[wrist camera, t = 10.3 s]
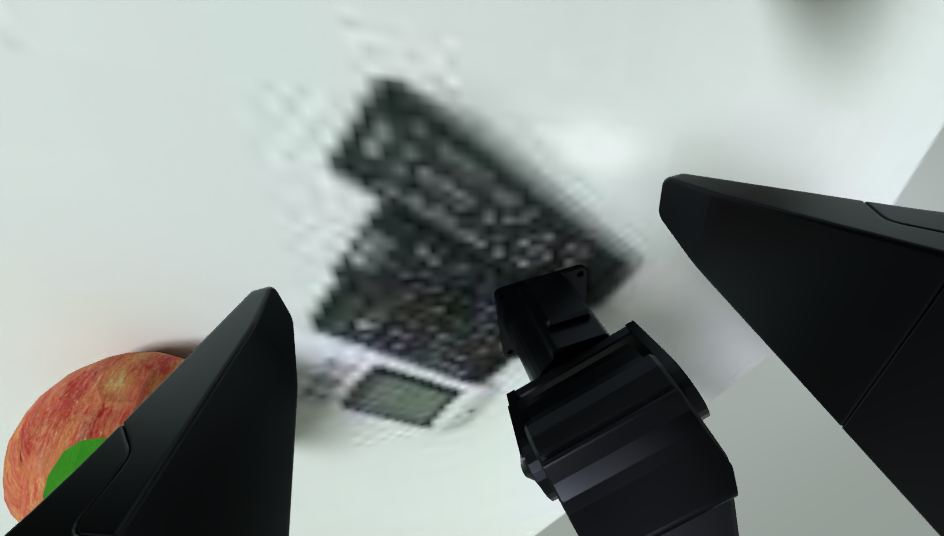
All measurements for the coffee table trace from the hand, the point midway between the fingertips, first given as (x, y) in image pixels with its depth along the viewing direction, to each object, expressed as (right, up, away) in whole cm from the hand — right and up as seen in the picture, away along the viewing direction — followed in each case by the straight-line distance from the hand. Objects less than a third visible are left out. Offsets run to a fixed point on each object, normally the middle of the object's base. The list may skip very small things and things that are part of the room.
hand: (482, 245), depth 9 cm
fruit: (-19, -7, +16) cm, 25 cm away
